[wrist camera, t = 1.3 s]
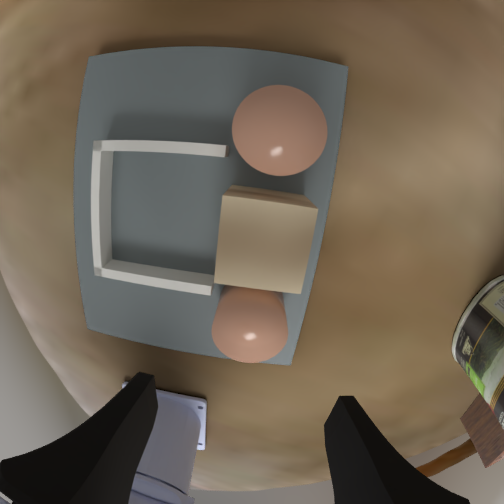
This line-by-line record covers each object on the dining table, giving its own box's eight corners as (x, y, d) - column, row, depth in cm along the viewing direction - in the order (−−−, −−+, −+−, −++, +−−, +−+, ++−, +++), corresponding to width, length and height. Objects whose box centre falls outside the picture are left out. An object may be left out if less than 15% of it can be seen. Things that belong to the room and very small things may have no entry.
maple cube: (292, 262, 17) (300, 293, 13) (224, 253, 17) (213, 283, 13) (304, 195, 15) (318, 208, 12) (232, 184, 15) (222, 195, 11)
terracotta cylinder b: (307, 177, 15) (320, 182, 12) (234, 167, 15) (226, 170, 12) (316, 107, 14) (332, 93, 10) (243, 96, 14) (238, 80, 10)
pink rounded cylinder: (277, 331, 18) (280, 366, 15) (217, 323, 18) (209, 357, 15) (288, 277, 17) (295, 307, 14) (222, 268, 17) (214, 296, 14)
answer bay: (214, 284, 17) (210, 295, 16) (105, 266, 17) (94, 275, 16) (229, 146, 15) (226, 145, 13) (106, 140, 14) (93, 140, 13)
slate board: (289, 356, 20) (290, 365, 19) (93, 322, 20) (87, 328, 19) (343, 70, 14) (348, 66, 13) (96, 60, 13) (89, 56, 12)
